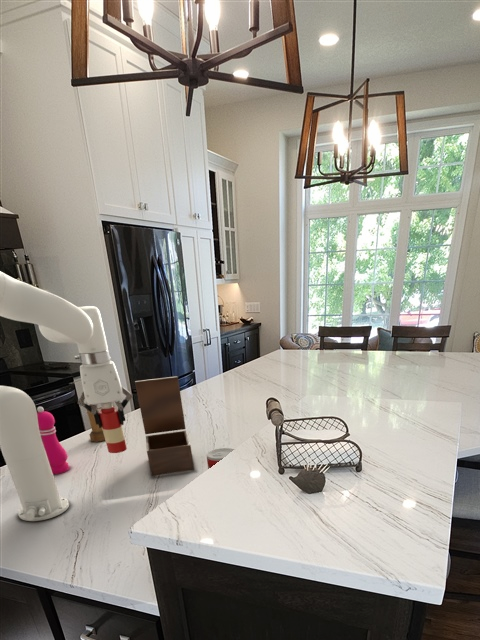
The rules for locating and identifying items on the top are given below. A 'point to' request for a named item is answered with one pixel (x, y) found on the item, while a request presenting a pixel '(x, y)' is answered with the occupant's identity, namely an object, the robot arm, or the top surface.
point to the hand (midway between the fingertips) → (111, 424)
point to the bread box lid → (160, 405)
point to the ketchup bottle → (112, 428)
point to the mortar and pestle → (95, 429)
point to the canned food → (217, 455)
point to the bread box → (169, 453)
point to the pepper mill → (51, 442)
